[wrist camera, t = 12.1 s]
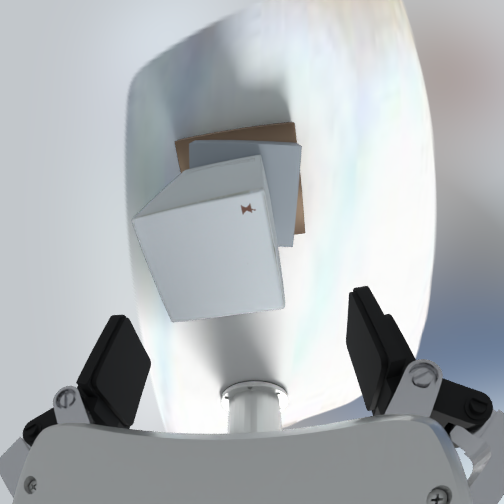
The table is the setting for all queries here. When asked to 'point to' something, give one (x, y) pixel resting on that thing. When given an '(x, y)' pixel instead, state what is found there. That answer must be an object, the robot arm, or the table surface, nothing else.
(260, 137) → the walnut base slab
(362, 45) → the table surface
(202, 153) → the slate grey slab
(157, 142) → the table surface
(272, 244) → the supplement box
